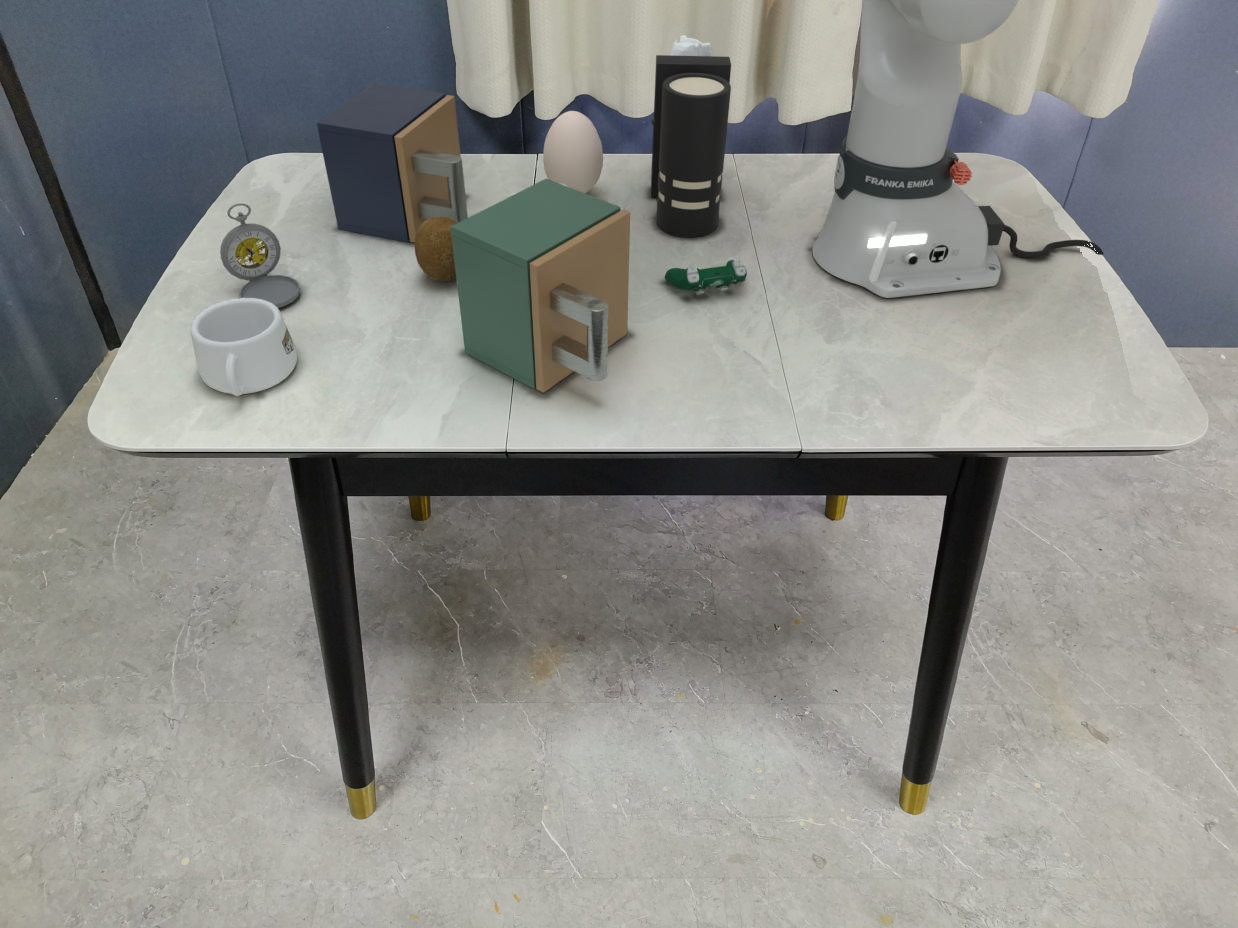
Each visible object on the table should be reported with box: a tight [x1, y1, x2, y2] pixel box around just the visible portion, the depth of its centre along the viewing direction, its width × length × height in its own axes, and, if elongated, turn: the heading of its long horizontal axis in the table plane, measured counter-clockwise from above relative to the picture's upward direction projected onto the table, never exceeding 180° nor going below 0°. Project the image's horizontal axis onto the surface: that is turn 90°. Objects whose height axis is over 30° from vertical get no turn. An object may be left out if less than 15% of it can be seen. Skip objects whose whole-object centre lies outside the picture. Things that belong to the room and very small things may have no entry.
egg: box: [542, 110, 604, 194], centre depth 123 cm, size 8×8×11 cm
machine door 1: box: [394, 94, 469, 243], centre depth 116 cm, size 7×14×14 cm, turn 162°
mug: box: [189, 297, 298, 397], centre depth 93 cm, size 12×10×6 cm
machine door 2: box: [530, 209, 631, 393], centre depth 92 cm, size 7×14×14 cm, turn 142°
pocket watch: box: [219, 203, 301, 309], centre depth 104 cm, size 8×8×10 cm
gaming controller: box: [663, 256, 748, 296], centre depth 108 cm, size 9×4×6 cm
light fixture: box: [650, 54, 732, 238], centre depth 117 cm, size 10×14×18 cm
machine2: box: [451, 178, 622, 390], centre depth 96 cm, size 10×14×15 cm
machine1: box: [316, 82, 447, 243], centre depth 117 cm, size 10×14×14 cm
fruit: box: [413, 216, 457, 282], centre depth 107 cm, size 6×6×8 cm
